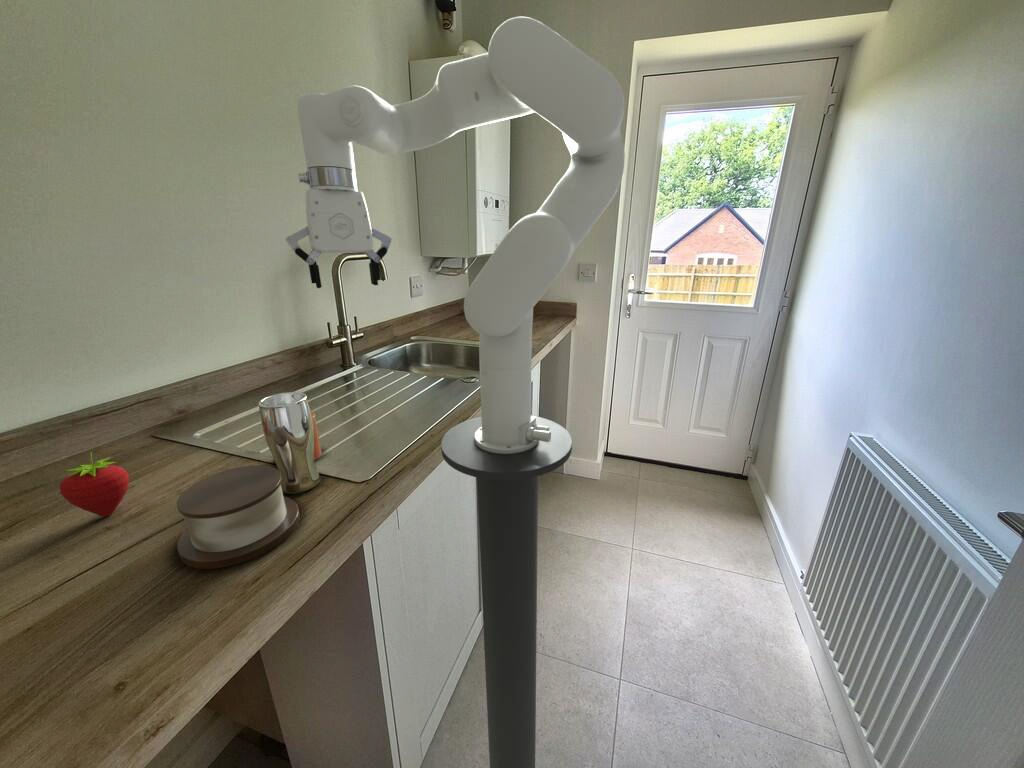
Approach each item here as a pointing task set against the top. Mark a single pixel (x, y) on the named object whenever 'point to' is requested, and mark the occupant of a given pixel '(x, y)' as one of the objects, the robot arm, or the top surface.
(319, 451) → the terracotta cup
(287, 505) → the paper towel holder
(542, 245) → the robot arm
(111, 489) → the strawberry
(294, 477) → the beer glass
